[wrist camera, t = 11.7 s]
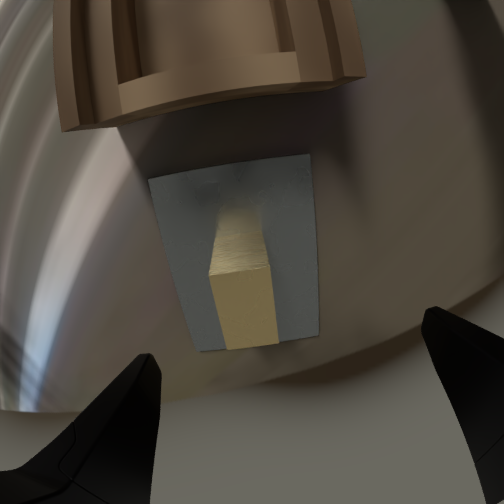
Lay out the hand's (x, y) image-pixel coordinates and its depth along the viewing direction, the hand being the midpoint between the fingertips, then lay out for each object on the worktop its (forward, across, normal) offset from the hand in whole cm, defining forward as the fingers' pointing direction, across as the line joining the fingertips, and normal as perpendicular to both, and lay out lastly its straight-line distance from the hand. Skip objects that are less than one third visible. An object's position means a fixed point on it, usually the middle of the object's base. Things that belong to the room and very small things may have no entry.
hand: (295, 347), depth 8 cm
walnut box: (+12, +2, -16) cm, 20 cm away
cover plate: (+12, +2, +3) cm, 13 cm away
